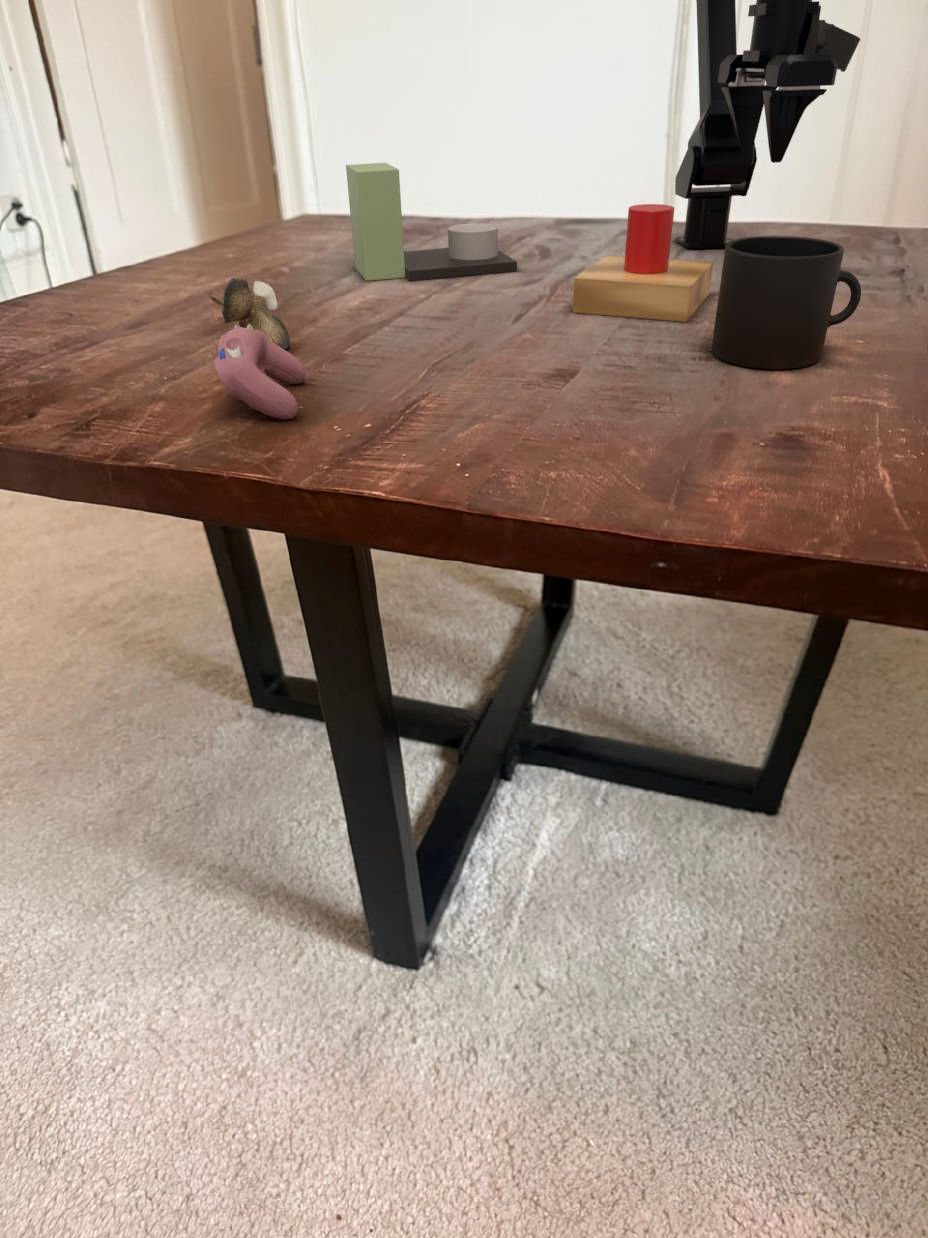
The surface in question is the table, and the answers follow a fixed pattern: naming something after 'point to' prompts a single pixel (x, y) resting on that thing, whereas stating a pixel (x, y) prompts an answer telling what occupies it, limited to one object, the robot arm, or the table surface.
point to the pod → (648, 238)
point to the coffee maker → (383, 235)
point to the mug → (779, 300)
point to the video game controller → (258, 371)
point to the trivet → (642, 290)
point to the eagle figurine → (252, 309)
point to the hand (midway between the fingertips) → (760, 157)
